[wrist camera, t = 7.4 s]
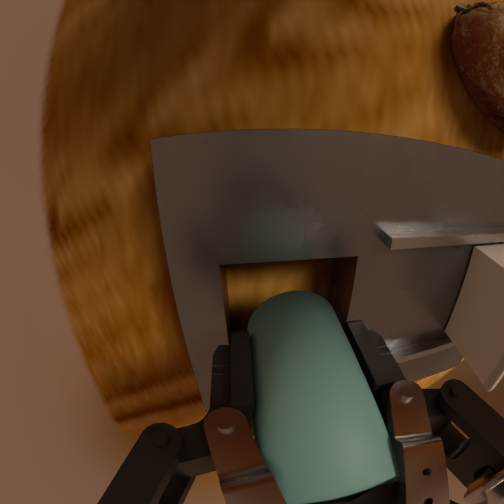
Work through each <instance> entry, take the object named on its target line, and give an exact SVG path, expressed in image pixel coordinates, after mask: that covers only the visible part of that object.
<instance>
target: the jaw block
mask: <svg viewBox="0 0 504 504" xmlns="http://www.w3.org/2000/svg"><path fill="white" fill-rule="evenodd" d="M444 332H445V333H446V334H447V336H448V337H449V338H450V339H451V341H452V342H453V343H454V345H455V346H456V347H457V349H458V350H459V351H460V353H461V354H462V355H463V357H464V358H465V359H466V361H467V362H468V364H469V365H470V366H471V368H472V369H473V371H474V372H475V374H476V375H477V377H478V378H479V379H480V381H481V382H482V384H483V385H484V387H485V388H486V390H487V392H489V391H491V390H493V389H494V388H495V387H496V385H497V384H498V382H499V381H500V380H501V378H502V377H503V375H504V244H494V245H482V246H474V249H473V253H472V256H471V260H470V263H469V267H468V270H467V273H466V276H465V279H464V282H463V285H462V288H461V291H460V294H459V297H458V299H457V302H456V305H455V307H454V310H453V312H452V315H451V317H450V320H449V322H448V324H447V327H446V329H445V331H444Z"/></svg>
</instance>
